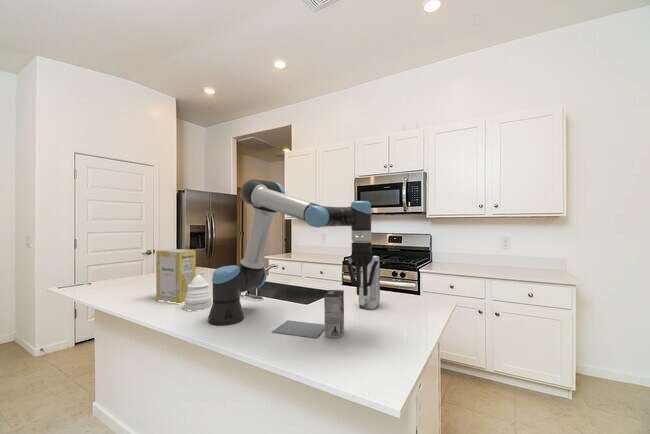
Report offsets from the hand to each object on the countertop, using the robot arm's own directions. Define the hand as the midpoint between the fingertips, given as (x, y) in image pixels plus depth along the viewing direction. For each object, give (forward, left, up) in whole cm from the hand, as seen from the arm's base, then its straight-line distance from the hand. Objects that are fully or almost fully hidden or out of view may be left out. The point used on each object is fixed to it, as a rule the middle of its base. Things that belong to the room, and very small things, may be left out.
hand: (362, 303), depth 113 cm
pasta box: (-110, +18, -13) cm, 112 cm away
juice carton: (-5, +39, -13) cm, 41 cm away
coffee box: (-11, 0, -13) cm, 17 cm away
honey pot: (-88, +11, -13) cm, 90 cm away
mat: (-26, 0, -13) cm, 28 cm away
